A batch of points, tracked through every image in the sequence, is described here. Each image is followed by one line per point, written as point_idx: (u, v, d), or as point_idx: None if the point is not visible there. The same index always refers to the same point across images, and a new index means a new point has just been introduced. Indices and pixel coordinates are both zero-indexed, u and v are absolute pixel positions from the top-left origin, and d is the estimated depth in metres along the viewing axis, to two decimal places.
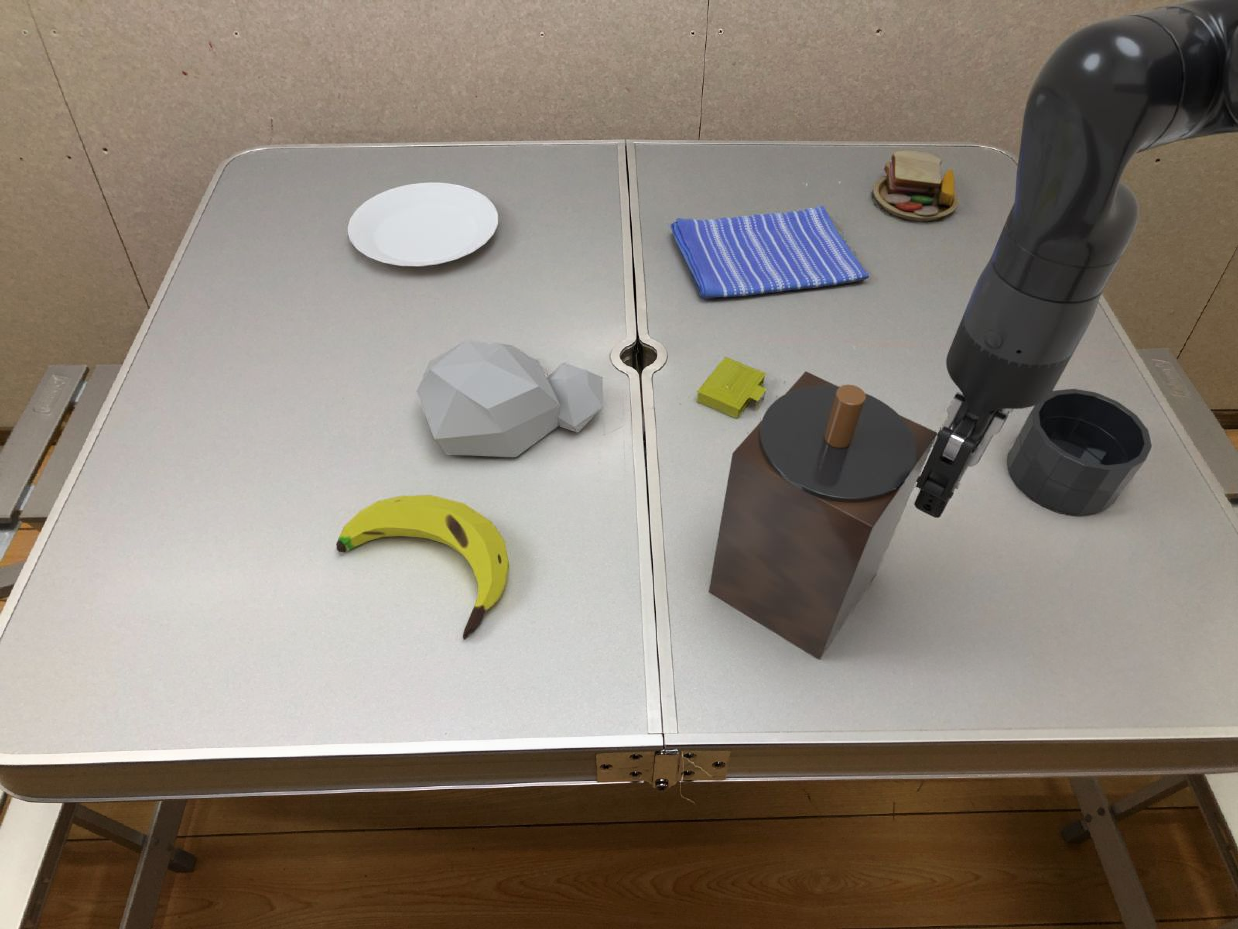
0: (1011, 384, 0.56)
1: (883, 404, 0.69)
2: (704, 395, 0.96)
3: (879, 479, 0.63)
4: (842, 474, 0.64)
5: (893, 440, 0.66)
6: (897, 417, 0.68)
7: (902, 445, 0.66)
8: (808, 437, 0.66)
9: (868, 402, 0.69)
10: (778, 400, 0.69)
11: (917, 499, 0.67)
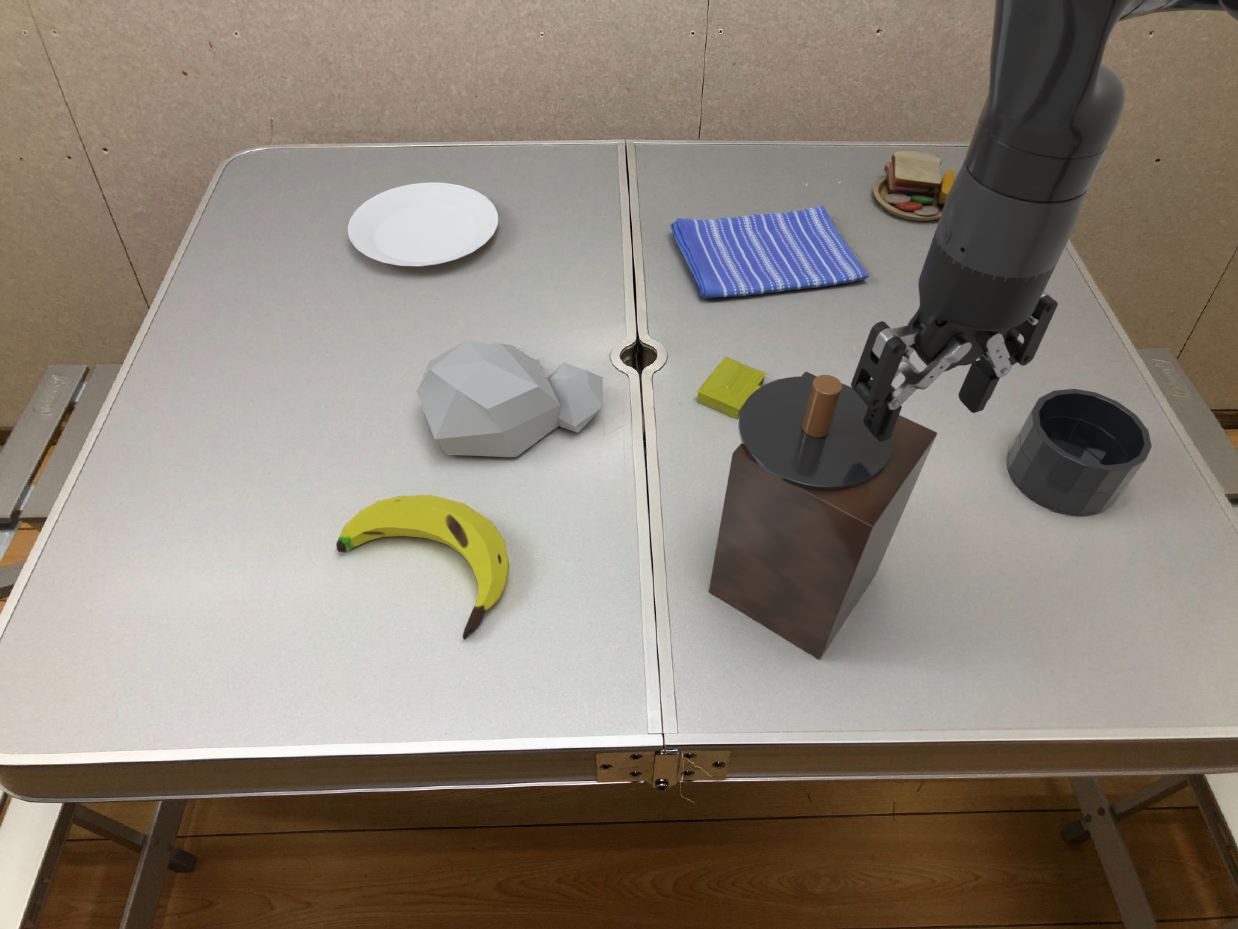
0: (955, 290, 0.52)
1: None
2: (704, 395, 0.96)
3: (854, 468, 0.64)
4: (818, 463, 0.64)
5: None
6: None
7: None
8: (786, 426, 0.67)
9: (848, 393, 0.69)
10: (758, 389, 0.70)
11: None
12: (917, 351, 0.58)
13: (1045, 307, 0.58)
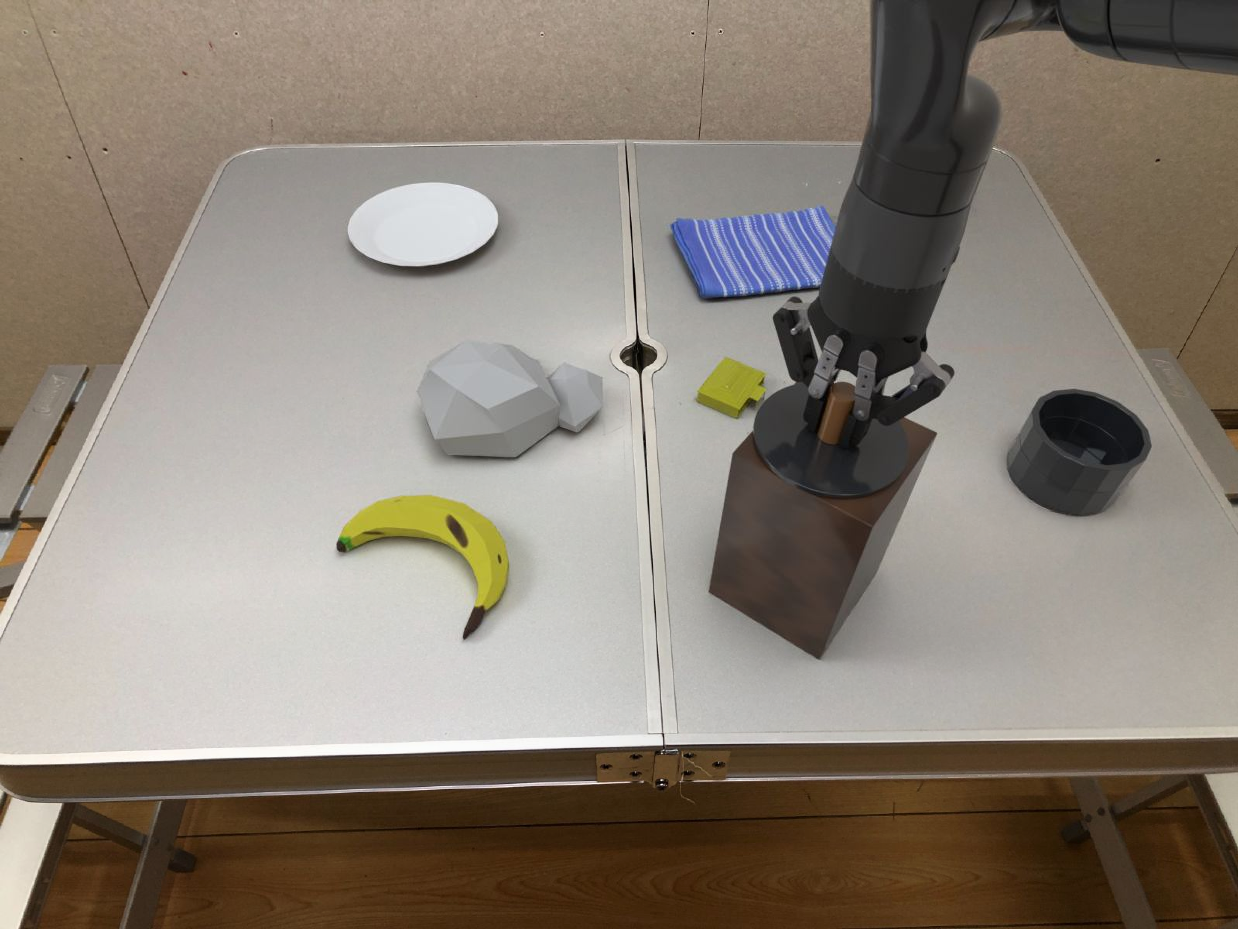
0: None
1: None
2: (704, 395, 0.96)
3: (869, 477, 0.63)
4: (833, 470, 0.64)
5: (886, 438, 0.66)
6: None
7: (895, 444, 0.66)
8: (801, 432, 0.66)
9: None
10: (774, 394, 0.69)
11: None
12: None
13: (929, 383, 0.56)
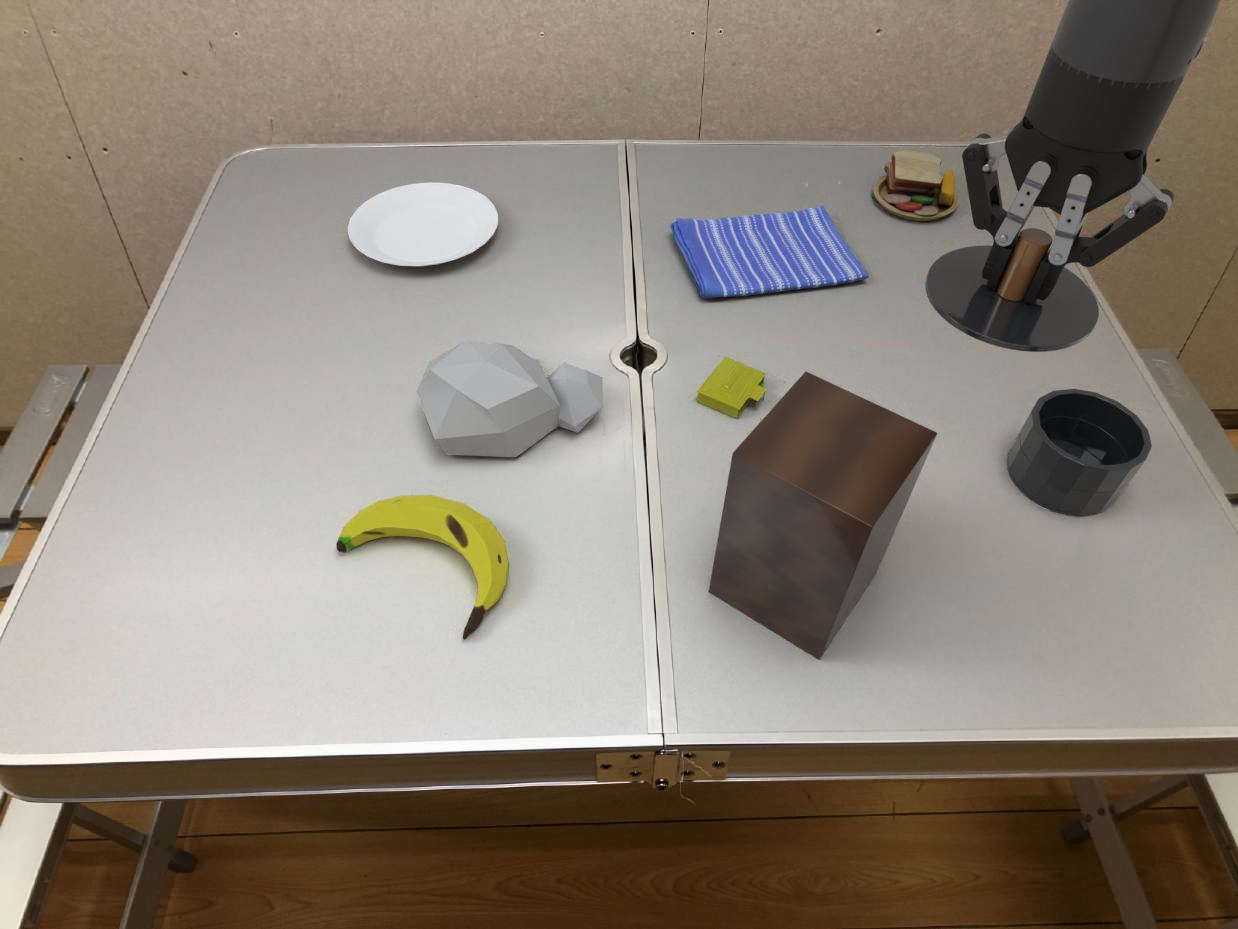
0: (1039, 78, 0.51)
1: None
2: (704, 395, 0.96)
3: (1062, 330, 0.59)
4: (1022, 324, 0.59)
5: (1071, 295, 0.62)
6: (1072, 275, 0.63)
7: (1082, 300, 0.61)
8: (979, 291, 0.62)
9: None
10: (941, 257, 0.65)
11: None
12: None
13: (1152, 206, 0.52)
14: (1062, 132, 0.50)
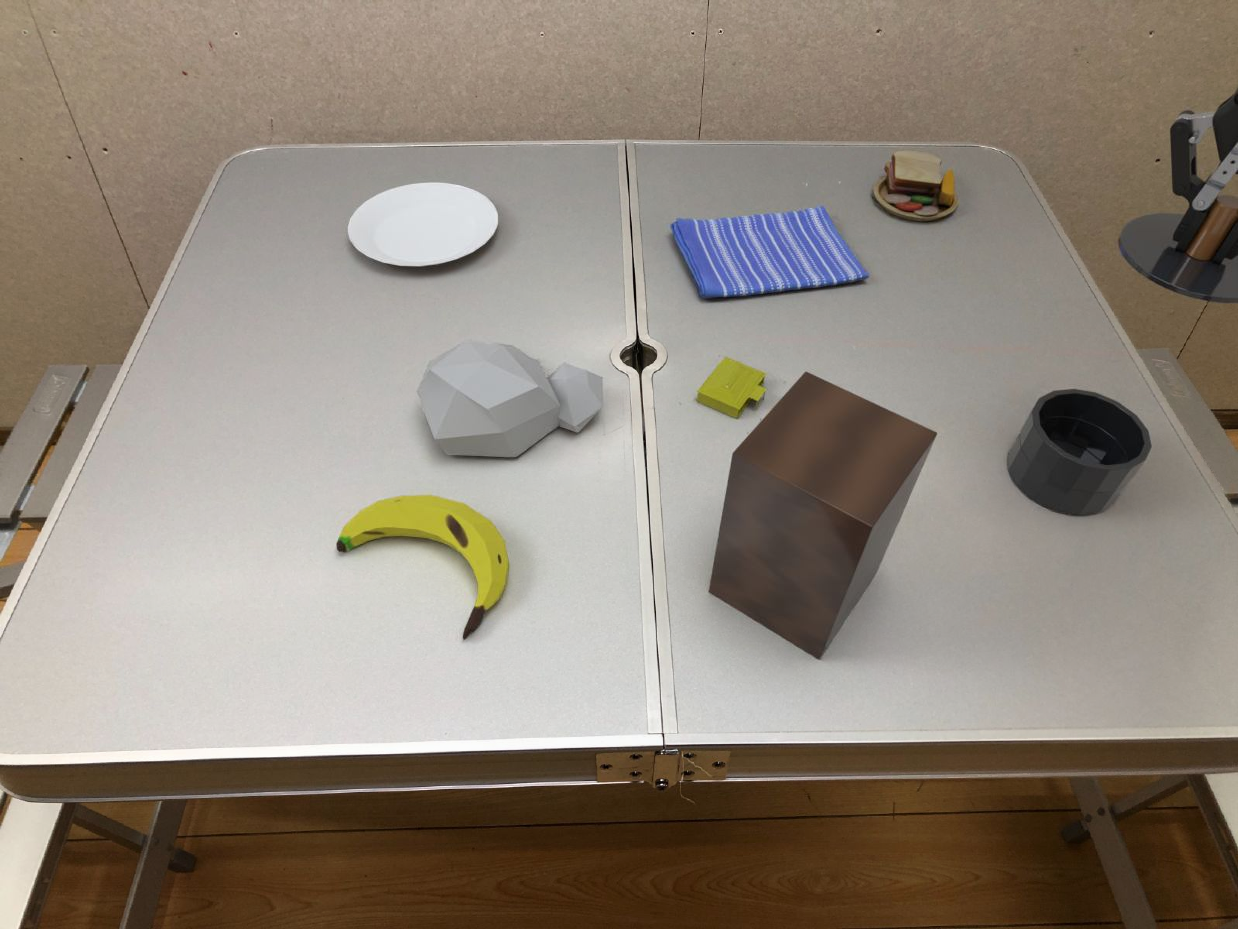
0: None
1: None
2: (704, 395, 0.96)
3: None
4: (1214, 280, 0.67)
5: None
6: None
7: None
8: (1170, 251, 0.70)
9: None
10: (1129, 222, 0.72)
11: None
12: None
13: None
14: None
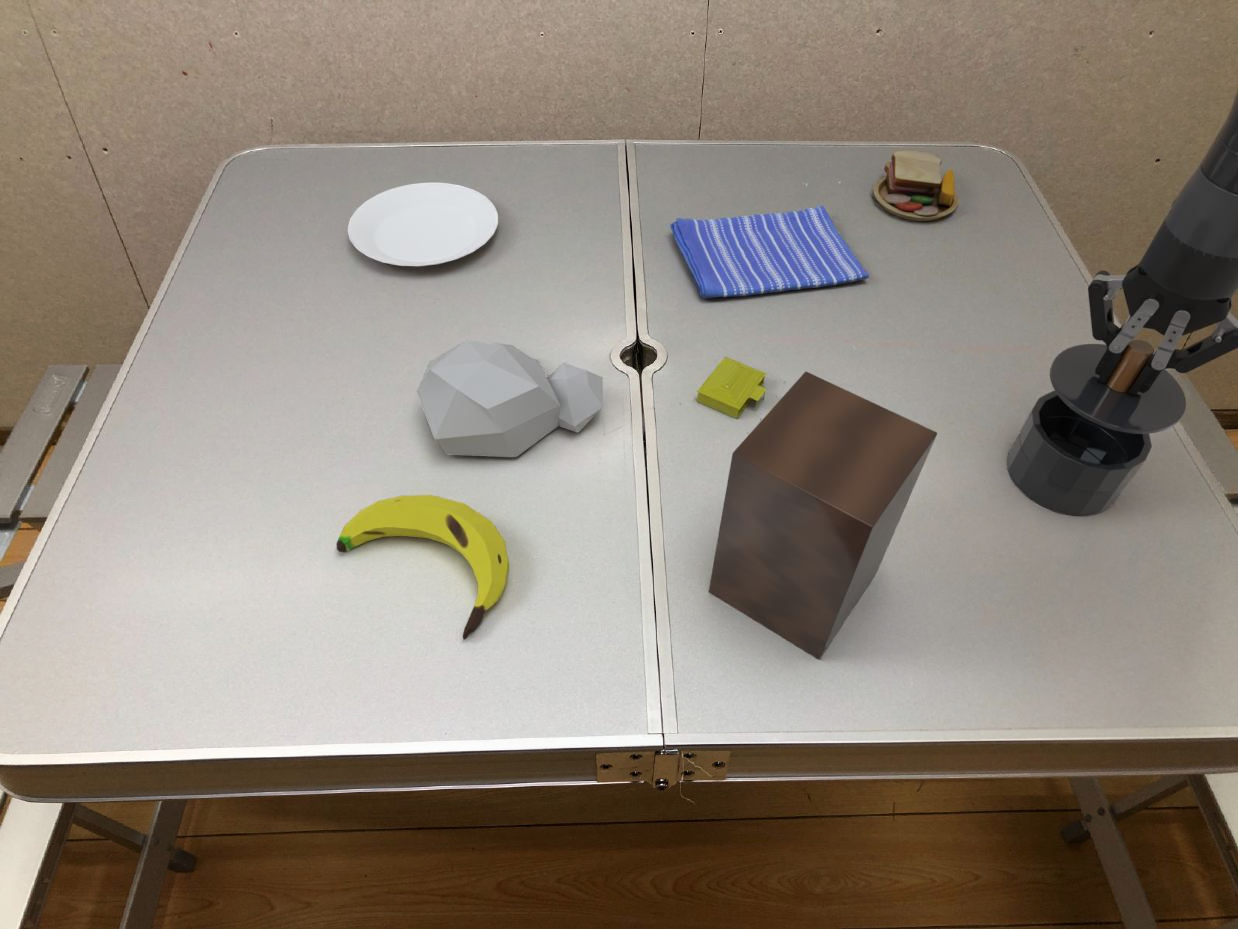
0: (1154, 243, 0.70)
1: None
2: (704, 395, 0.96)
3: (1159, 416, 0.78)
4: (1128, 412, 0.78)
5: (1164, 387, 0.81)
6: (1163, 370, 0.82)
7: (1172, 392, 0.80)
8: (1093, 383, 0.81)
9: None
10: (1060, 354, 0.84)
11: None
12: None
13: (1235, 335, 0.71)
14: (1172, 284, 0.69)
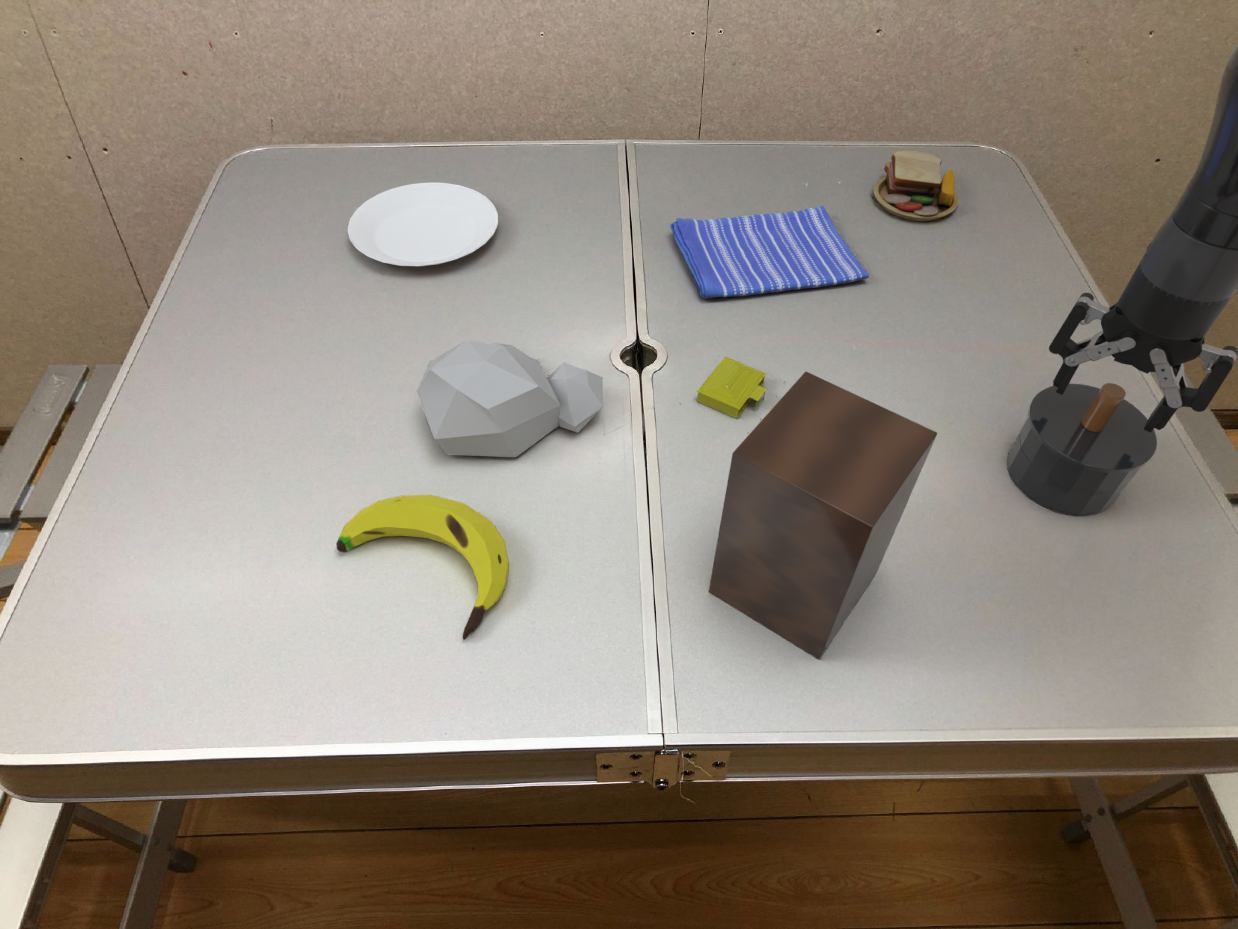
0: (1130, 285, 0.73)
1: (1123, 399, 0.88)
2: (704, 395, 0.96)
3: (1131, 456, 0.82)
4: (1101, 451, 0.83)
5: (1136, 427, 0.85)
6: (1136, 410, 0.87)
7: (1144, 431, 0.85)
8: (1069, 423, 0.85)
9: None
10: (1039, 394, 0.88)
11: None
12: None
13: (1219, 361, 0.73)
14: (1147, 325, 0.72)
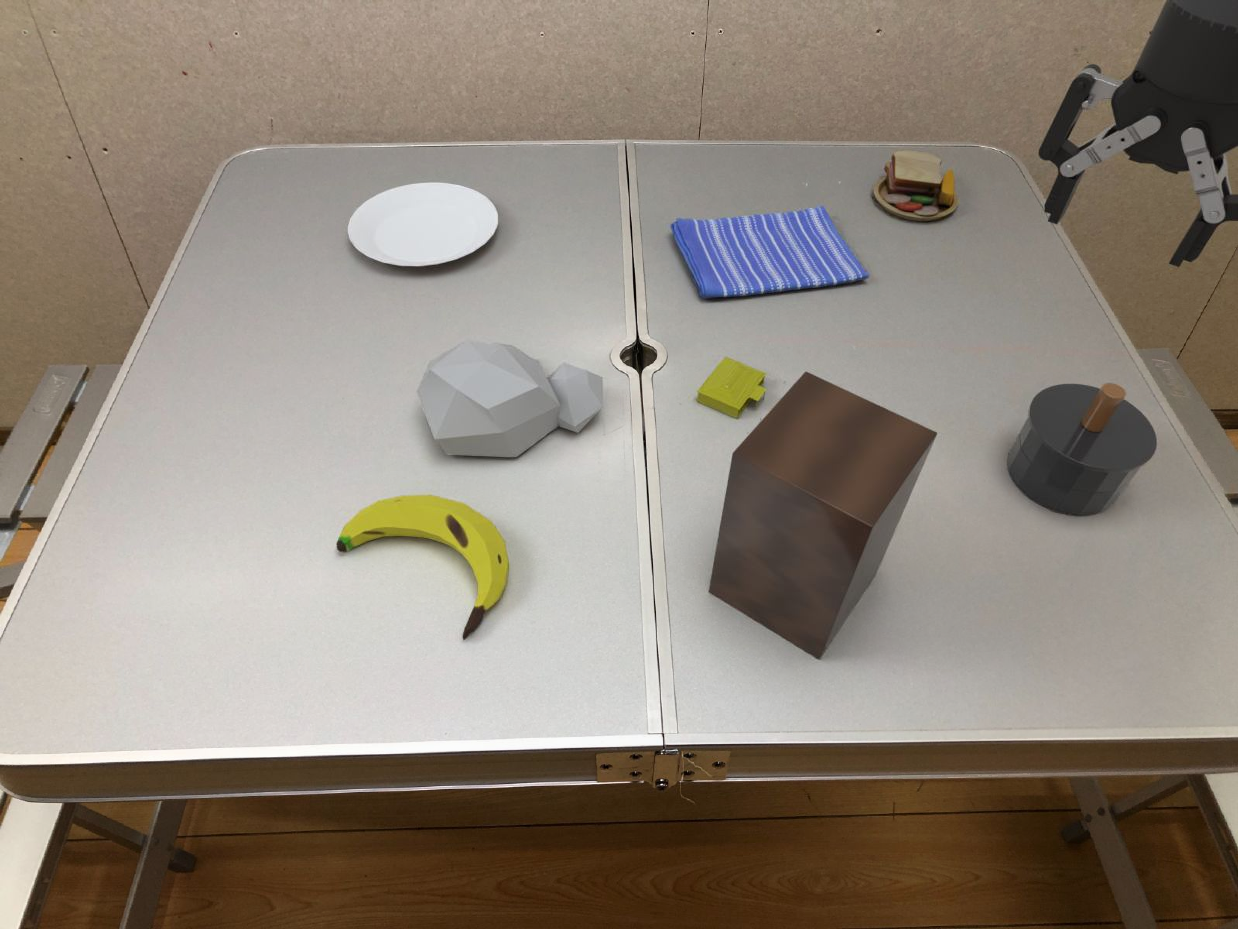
0: (1155, 30, 0.51)
1: (1123, 399, 0.88)
2: (704, 395, 0.96)
3: (1131, 456, 0.82)
4: (1101, 451, 0.83)
5: (1136, 427, 0.85)
6: (1136, 410, 0.87)
7: (1144, 431, 0.85)
8: (1069, 423, 0.85)
9: None
10: (1039, 394, 0.88)
11: None
12: None
13: None
14: (1179, 83, 0.50)
